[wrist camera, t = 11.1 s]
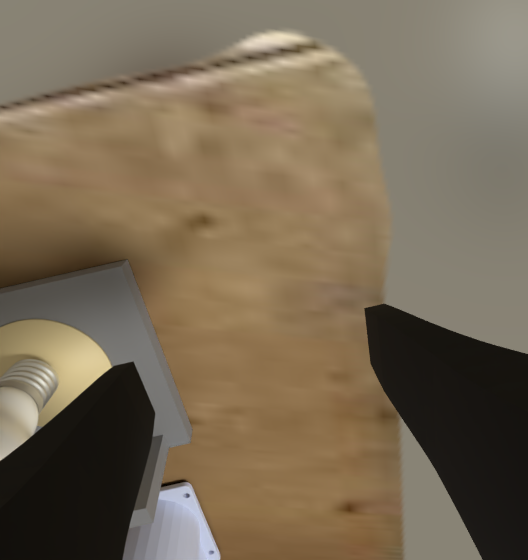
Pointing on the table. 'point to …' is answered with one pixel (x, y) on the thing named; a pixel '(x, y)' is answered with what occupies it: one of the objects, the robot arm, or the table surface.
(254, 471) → the table surface
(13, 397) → the lightbulb
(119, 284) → the lamp base
